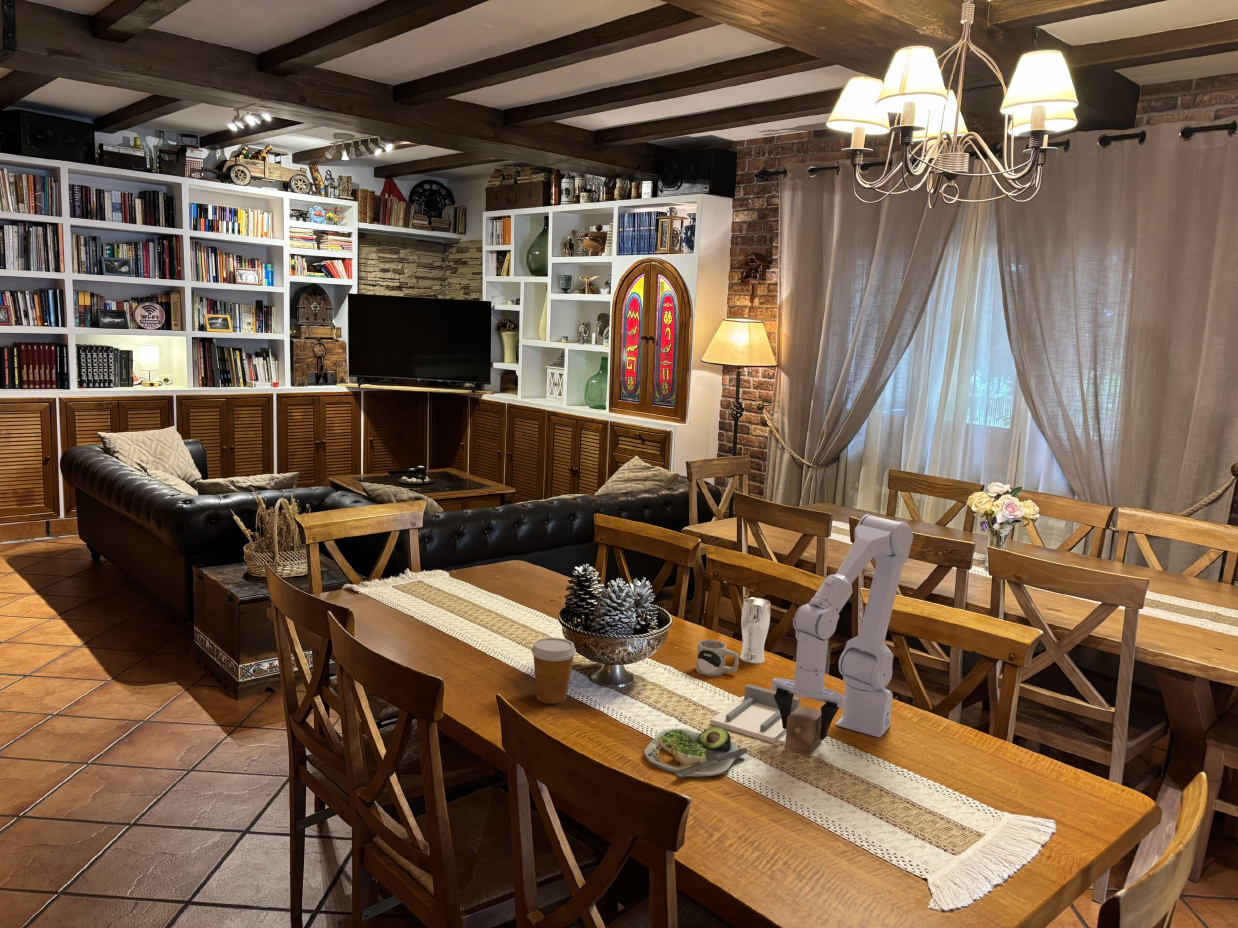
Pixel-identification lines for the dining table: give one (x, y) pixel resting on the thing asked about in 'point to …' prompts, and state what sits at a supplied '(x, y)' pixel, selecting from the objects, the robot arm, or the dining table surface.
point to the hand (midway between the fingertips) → (804, 732)
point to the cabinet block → (803, 730)
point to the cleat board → (754, 715)
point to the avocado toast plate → (695, 751)
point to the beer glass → (754, 629)
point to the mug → (714, 658)
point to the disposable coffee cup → (552, 668)
